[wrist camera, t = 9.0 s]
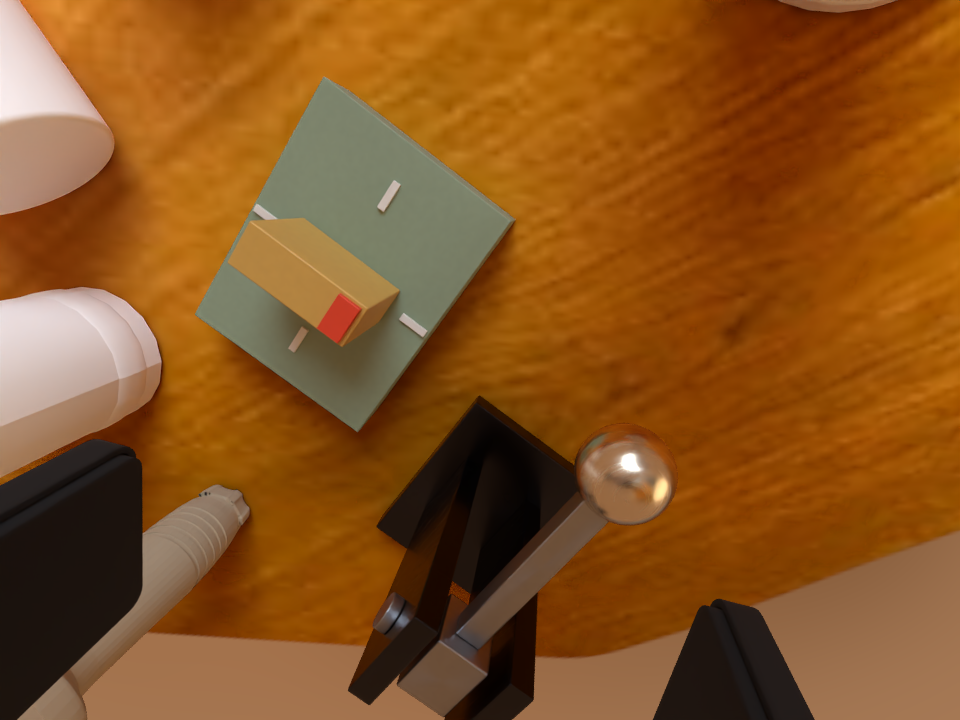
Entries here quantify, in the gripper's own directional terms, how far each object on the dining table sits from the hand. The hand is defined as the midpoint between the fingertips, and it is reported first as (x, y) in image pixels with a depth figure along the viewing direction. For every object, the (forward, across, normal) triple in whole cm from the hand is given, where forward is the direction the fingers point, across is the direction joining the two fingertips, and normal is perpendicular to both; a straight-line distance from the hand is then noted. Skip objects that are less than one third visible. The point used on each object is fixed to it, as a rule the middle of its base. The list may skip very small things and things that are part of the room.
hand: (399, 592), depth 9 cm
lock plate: (+20, +8, -2) cm, 21 cm away
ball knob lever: (+10, -3, +6) cm, 12 cm away
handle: (+20, +15, +15) cm, 29 cm away
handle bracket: (+20, -1, +10) cm, 22 cm away
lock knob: (+17, +8, -2) cm, 18 cm away
